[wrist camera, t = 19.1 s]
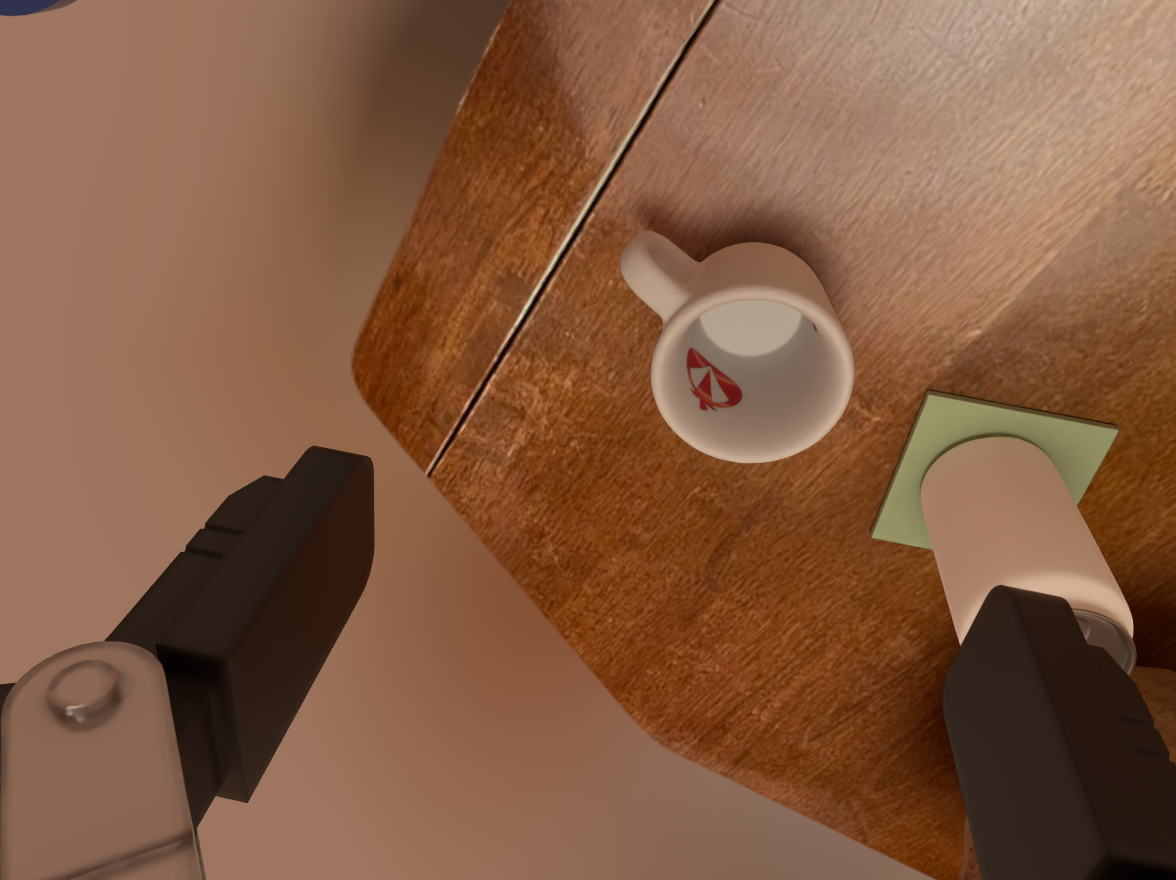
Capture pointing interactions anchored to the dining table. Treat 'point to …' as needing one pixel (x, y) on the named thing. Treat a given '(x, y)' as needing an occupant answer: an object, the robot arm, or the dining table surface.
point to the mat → (967, 419)
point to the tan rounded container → (1172, 710)
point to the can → (1019, 539)
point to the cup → (741, 347)
